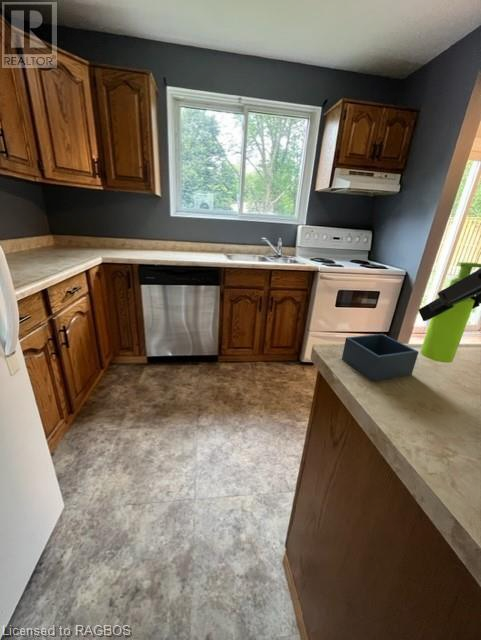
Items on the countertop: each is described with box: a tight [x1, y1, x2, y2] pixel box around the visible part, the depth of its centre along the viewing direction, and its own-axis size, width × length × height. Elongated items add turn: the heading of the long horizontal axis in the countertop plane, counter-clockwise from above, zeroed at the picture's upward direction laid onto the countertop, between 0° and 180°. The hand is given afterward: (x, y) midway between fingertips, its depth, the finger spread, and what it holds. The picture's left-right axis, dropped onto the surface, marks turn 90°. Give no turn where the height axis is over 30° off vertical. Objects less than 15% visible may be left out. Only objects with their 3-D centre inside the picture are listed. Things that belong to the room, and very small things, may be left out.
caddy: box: [341, 333, 419, 382], centre depth 71 cm, size 13×12×7 cm
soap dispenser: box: [420, 261, 481, 364], centre depth 55 cm, size 6×7×20 cm
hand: (434, 314), depth 59 cm, fingers closed on soap dispenser, 6 cm apart
